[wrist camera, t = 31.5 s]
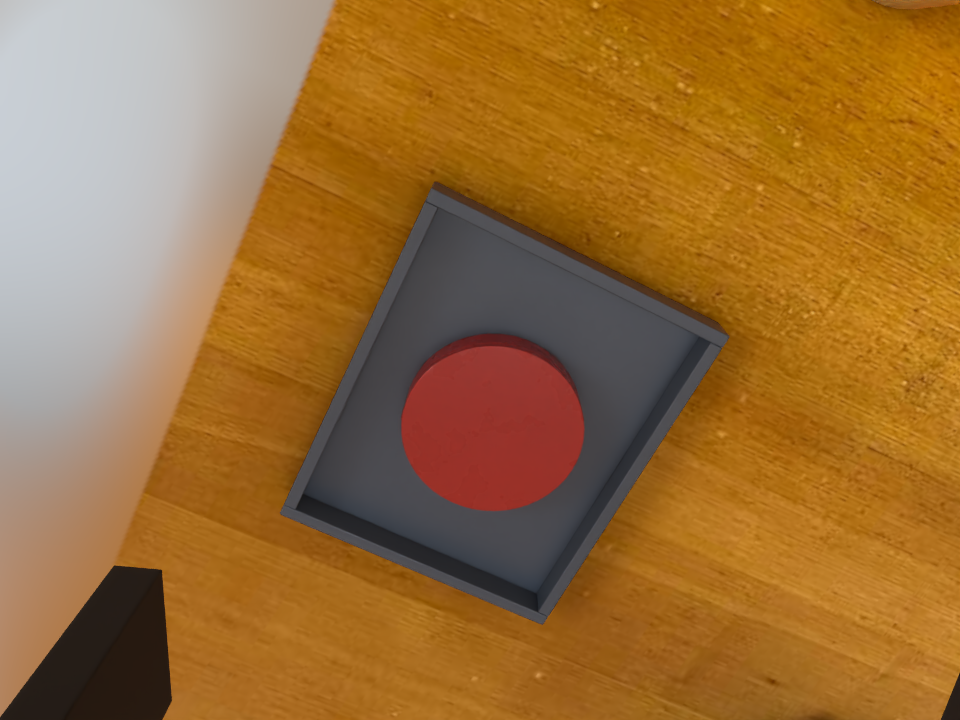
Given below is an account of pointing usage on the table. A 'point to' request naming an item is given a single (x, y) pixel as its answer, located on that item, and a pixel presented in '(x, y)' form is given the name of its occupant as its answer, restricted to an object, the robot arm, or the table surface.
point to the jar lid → (492, 422)
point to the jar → (916, 3)
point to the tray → (525, 314)
